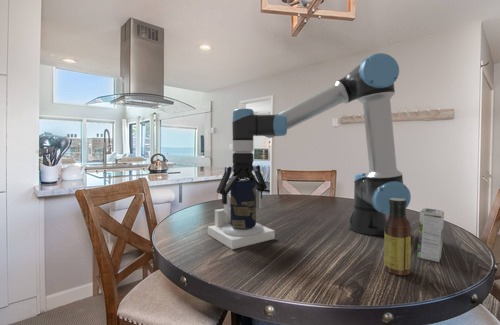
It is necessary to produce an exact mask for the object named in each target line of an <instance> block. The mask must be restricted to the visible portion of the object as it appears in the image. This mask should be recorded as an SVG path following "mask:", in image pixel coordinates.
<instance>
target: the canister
mask: <svg viewBox="0 0 500 325" xmlns="http://www.w3.org/2000/svg"><path fill="white" fill-rule="evenodd" d="M256 191H257V189H256V182H255V181H252V180H250V179H249V178H242V179H241V178H239V179H238V180H237V181H236V183H235V184H234V185H233V187H232V188H231V190H230V191H229V193H230V213H231V226H232V227H234V228H238V229H248V228H252V227H254V226H255V225H256V223H257V208H256Z"/></svg>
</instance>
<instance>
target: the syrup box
mask: <svg viewBox="0 0 500 325" xmlns="http://www.w3.org/2000/svg"><path fill="white" fill-rule="evenodd" d="M444 219H445V211H444V210H440V209H439V210H438V209H436V208H427V207H426V208H422V209H421V211H419V222H418V223H419V224H418V235H417V237H418V238H417V252H416V253H417V254H416V257H417V258H419V259H422V260H427V261H432V262H436V263H441V262H440V261H441V258H442V250H443V249H442V248H443V237H444V236H443V235H444V221H445V220H444Z"/></svg>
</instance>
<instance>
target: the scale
mask: <svg viewBox="0 0 500 325" xmlns="http://www.w3.org/2000/svg"><path fill="white" fill-rule="evenodd" d="M275 232H276V231H275V229H272V228H270V227H267V226H264V225H262V224H261V223H258V222H256V225H255V226H254V227H252V228H248V229H238V228H234V227H232V226H231V213H230V214H226V213H224V208H220V209H219V208H218V209H214V225H209V226H207V235H208V236H210V237H211V238H213V239H215V240H216V241H218V242H219V243H221V244H223V245H225V247H228V248H229V249H231V250H235V249H239V248H243V247H247V246H251V245H256V244H259V243H262V242H267V241H270V240H275V239H276V238H275V234H276V233H275Z"/></svg>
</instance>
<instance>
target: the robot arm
mask: <svg viewBox="0 0 500 325" xmlns="http://www.w3.org/2000/svg"><path fill="white" fill-rule="evenodd" d="M399 74H400V67H399V63H398V61H397V60H396V59H395V58H394V57H393V56H391V55H390V54H387V53H385V52H377V53H374V54H373V53H372V54H371V55H369V56H367V57H366V58H364V59H363V60H362V61H361V62H360V64H358V65H357V66H356V67H354V69H352V70H351V71H350V72H349V73H348V74H346V75H345V76H344V77H343V78H340V79H339V80H336V81H335V83H334V85H332V86H330V87H328V88H326V89H325V90H322V91H320V92H318V93H317V94H315V95H313V96H310V97H309V98H307V99H303V101H300V102H299V103H297V104H294V105H293V106H290V107H288V108H286V109H284V110H283V111H281V112H279V113H276V114H255V113H254V110H253V109H252V108H245V107H244V108H243V107H242V108H236V109H234V110H233V112H232V121H231V123H232V152H233V153H232V166H228V165H227V166H226V165H225V167H224V173H223V175H222V177H221V180H220V183H219V185H218V187H217V189H216V193H218V194H220V195H221V203H222V204H223V209H224V213H226V214H230V202H231V201H230V195H229V193H230V190H231V188H232V187H233V185H234V184H235V183H236V181H237V180H238V179H240V178H241V180H243V179H242V178H246V179H250V180H252V181H255V182H256V209H258V210H260V209H261V208H262V199H263V192H265V190H267V189H268V188H267V184H266V181H265V179H264V176H263V174H262V171H261V165H259V164H254V153H253V152H254V151H255V150H254V137H266V138H269V139H272V138H275V137H284V136H286V135H287V133H288V130H289V129H291V128H294V127H295V126H298V125H301V124H302V123H304V122H306V121H308V120H310V119H312V118H314V117H316V116H318V115H321V114H322V113H324V112H326V111H328V110H330V109H333V108H335V107H337V106H339V105H341V104H346V105H347V104H349V103H350V102H353V101H356V100H357V101H358V102H360V103H361V104H362V106H363V107H362V108H363V117H364V127H365V128H364V130H365V138H366V148H367V158H368V168H369V170H368V172H367V173H365V172H364V173H362V172H361V173H356V174H355V176H354V181H353V183H354V186H353V187H354V188H353V189H354V190H353V191H354V195H353V210H352V212H351V216H350V218H349V220H348V229H350V230H351V231H353V232H354V233H355V232H356V233H358V234H362V235H369V236H383V235H384V236H385V233H384V232H385V225H386V222H387V220H388V216H389V212H390V204H389V199H390V198H403V199H406V203H407V204H406V206H405V210H406V209H407V208H408V207H409V205H410V203H411V196H412V195H411V191H410V188H408V186H406V184H404V179H403V172H401V171H400V170H398V167H397V157H396V148H395V139H394V138H395V137H394V127H393V126H394V125H393V115H392V114H393V113H392V103H391V98H392V97H393V96H394V95H395V92H396V91H395V82H396V81H397V80H398V77H399ZM253 164H254V165H253ZM387 215H388V216H387Z"/></svg>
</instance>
